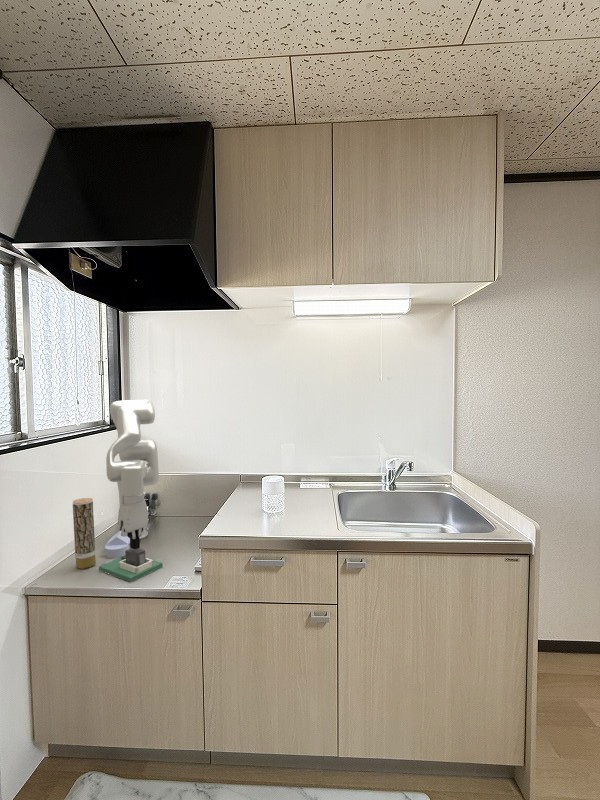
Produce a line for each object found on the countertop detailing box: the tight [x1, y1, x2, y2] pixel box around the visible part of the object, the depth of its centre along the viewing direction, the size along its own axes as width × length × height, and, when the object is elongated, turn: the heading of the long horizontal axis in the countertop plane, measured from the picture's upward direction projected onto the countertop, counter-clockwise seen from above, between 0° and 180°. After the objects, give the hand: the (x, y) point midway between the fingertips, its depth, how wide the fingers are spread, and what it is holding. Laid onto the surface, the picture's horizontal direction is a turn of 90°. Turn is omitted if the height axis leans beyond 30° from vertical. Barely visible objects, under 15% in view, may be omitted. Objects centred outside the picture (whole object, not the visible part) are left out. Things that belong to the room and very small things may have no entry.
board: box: [98, 555, 163, 583], centre depth 168 cm, size 18×14×4 cm
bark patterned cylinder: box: [72, 497, 97, 570], centre depth 170 cm, size 7×7×25 cm
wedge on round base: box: [104, 530, 130, 559], centre depth 184 cm, size 9×7×13 cm
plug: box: [125, 547, 147, 567], centre depth 166 cm, size 7×4×6 cm, turn 58°
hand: (135, 547), depth 166 cm, fingers closed
